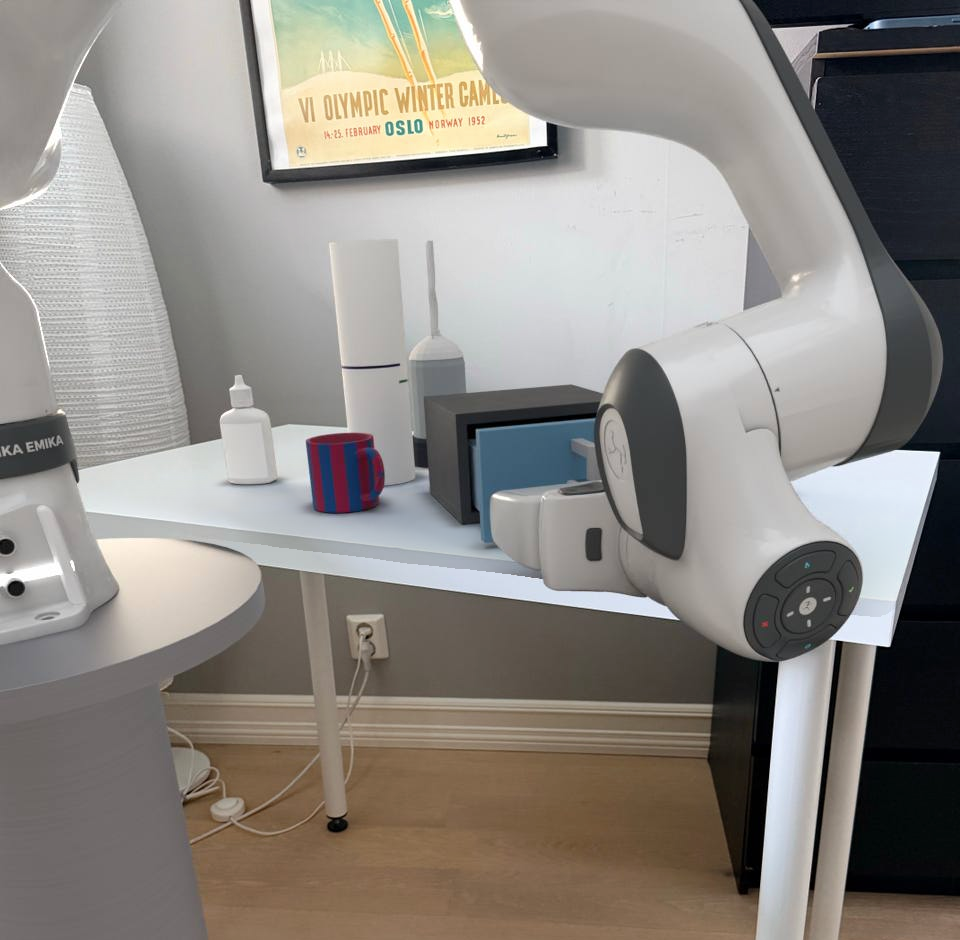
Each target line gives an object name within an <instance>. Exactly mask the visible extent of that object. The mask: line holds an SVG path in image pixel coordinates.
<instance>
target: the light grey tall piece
mask: <svg viewBox="0 0 960 940" xmlns="http://www.w3.org/2000/svg"><path fill="white" fill-rule="evenodd" d="M425 255H426V269H427V271H426V272H427V294H428V295H427V296H428V304H429V318H430V329H429V334H428V335H427V336H426V337H425V338H424V339H422V340H420V341H419V342H418V343H417V344H416V345H415V346H414V347H413V349H411V352H410V353H409V356H408V365H407V368H408V381H409V394H410V408H411V421H412V437H413V450H414V463H415V467H418V468H428V455H427V441H426V426H425V412H424V397H425V396H437V395H449V394H461V393H467V379H466V363H465V358H464V353H463V352H462V350H461V348H460V347H459V346H458V345H457V344H456V343H455V342H454V341H452V340H451V339H449V338H447V337H445V336H444V335H442V333H441V331H440V329H439V305H438V298H437V293H436V292H437V291H436V266H435V265H436V264H435V251H434V241H433V240H426V243H425Z"/></svg>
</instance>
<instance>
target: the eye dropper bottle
mask: <svg viewBox="0 0 960 940" xmlns="http://www.w3.org/2000/svg"><path fill="white" fill-rule="evenodd" d="M228 391H229V398H230V405H231V407H232V409H229V410H227V411H225V412H224V413H222V414H221V416H220V417H219V428H220V436H221V442H222V449H223V455H224V463H225V468H226V469H225V471H226V475H227V476H226V477H227V480H228V482H229V483H231V484H234V485H264V484H265V485H266V484H269V483H272V482H274V481H276V480H277V479H278V467H277V461H276V460H277V459H276V453H275V446H274V445H275V444H274V439H273V430H272V424H271V419H270V416H269V414H268V413H266V412H265V411H264V410H262V409H259V408H255V407H254V398H253V391H252V387H251V386H249V385H246V384H245V381H244V378H243V376H242V374H237V375H234V385H232V387H230V388H229V390H228Z"/></svg>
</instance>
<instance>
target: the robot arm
mask: <svg viewBox="0 0 960 940" xmlns="http://www.w3.org/2000/svg"><path fill="white" fill-rule="evenodd" d="M124 2H125V0H0V210H4V209H8V208H13V207H15V206H18V205H21V204H24V203H28V202H30V201H33V200H35V199H36V198H39V197H40V196H41V195H42V194H44V193H45V192H46V191H47V190H48V189H49V188H50V186H51V185H52V183H53V182H54V180H55V179H56V176H57V174H58V171H59V168H60V165H61V161H62V155H63V154H62V153H63V138H62V133H61V127H60V120H61V117H62V114H63V113H64V109H65V107H66V105H67V104H66V103H67V101H68V99H69V95H70V93H71V91H72V88H73V86H74V83H75V80H76V78H77V76H78V74H79V72H80V69H81V67H82V65H83V63H84V61H85V59H86V57H87V55H88V54H89V51H90V50H91V48H92V46H93V45H94V44H95V41H96V40H97V38H98V37H99V36H100V34H101V33H102V31H103V30H104V29H105V28H106V26H107V24H108V23H109V22H110V21H111V19H112V18H113V17H114V15H115V14H116V12H117V11H118V10H119V8H121V6H122V5H123V3H124ZM448 3H449V7H450V9H451V12H452V14H453V18H454V20H455V23H456V25H457V28H458V31H459V33H460V35H461V38H462V40H463V42H464V44H465V47H466V49H467V50H468V54H469V55H470V57H471V59H472V61H473V63H474V65H475V67H476V68H477V70H478V73H480V75H481V77H483V80H484V81H485V82H486V84H487V85H488V86H489V87H490V89H491V90H492V91H493V92H494V93H495V94H496V95H498V96H499V97H500V98H502V99H503V101H505V102H507V103H508V104H509V105H511V106H512V107H513V108H516V109H517V110H519V111H521V112H523V113H525V114H526V115H527V116H528V115H529V116H530V117H533V118H536V119H538V120H540V121H543V122H546V123H549V124H553V125H556V126H559V127H560V126H561V127H565V128H570V129H578V130H598V131H615V132H624V133H632V134H633V133H634V134H639V135H645V136H651V137H654V138H659V139H664V140H667V141H670V142H674V143H677V144H679V145H682V146H684V147H687V148H689V149H691V150H693V151H695V152H696V153H698V154H699V155H700V156H702V157H704V158H705V159H706V160H707V161H709V163H710V164H711V165H713V167H715V169H716V170H717V171H718V172H719V173H720V174H721V176H722V177H723V179H724V181H725V182H726V184H727V186H728V188H729V190H730V192H731V194H732V196H733V198H734V200H735V201H736V204H737V206H738V207H739V210H740V211H741V214H742V215H743V217H744V219H745V221H746V223H747V225H748V228H749V229H750V231H751V233H752V235H753V237H754V239H755V241H756V242H757V245H758V246H759V248H760V250H761V252H762V254H763V256H764V258H765V260H766V263H768V266H769V268H770V269H771V272H772V274H773V275H774V277H775V279H776V282H777V283H778V286H779V288H780V291H781V297H779V298H776V299H772V300H770V301H768V302H767V301H766V302H764V303H761V304H759V305H756V306H753V307H750V308H747V309H744V310H742V311H739V312H736V313H733V314H730V315H727V316H726V317H723V318H719V319H716V320H714V321H711V322H710V321H705V322H703V323H700V324H697V325H694V326H692V327H688V328H686V329H683V330H680V331H678V332H674V333H673V334H669V335H667V336H664V337H661V338H659V339H656V340H653V341H650V342H648V343H645V344H643V345H640V346H638V347H636V348H635V347H634V348H631V349H628V350H627V351H626V352H625V353H624V354H623V355H622V357H621V358H619V360H618V361H617V364H615V366H614V368H613V369H612V372H611V374H610V375H609V378H608V380H607V382H606V384H605V386H604V390H603V392H602V393H603V396H602V399H601V401H600V405H599V408H598V412H597V415H596V419H595V424H594V444H595V452H596V458H597V464H598V469H599V473H600V477H601V480H595V481H589V480H587V479H577V480H568V481H567V484H558V485H549V486H540V487H531V488H522V489H512V490H502V491H498V492H496V493H494V494H493V495H492V496H491V499H490V523H491V533H492V538H493V540H494V542H493V543H494V544H495V545H496V546H497V547H498V548H499V549H500V550H501V551H502V552H503V553H504V554H505V555H506V556H508V557H509V558H511V559H512V560H513V561H514V562H515V563H517V564H518V565H520V566H522V567H524V568H526V569H529V570H532V571H535V572H541V576H542V583H543V585H544V586H545V587H546V588H548V589H550V590H551V591H556V592H591V593H592V592H595V593H612V594H613V593H614V594H620V595H625V596H629V597H635V598H641V599H642V598H643V599H644V598H648V599H650V600H651V601H653V602H656V603H657V604H659V605H661V606H664V607H667V609H668V610H669V612H670V613H671V614H672V615H673V616H674V617H675V618H677V620H678V621H681V623H683V624H684V625H686V627H689V628H690V629H691V630H693V631H694V632H696V633H697V634H699V635H700V636H702V637H703V638H704V639H707V640H708V641H710V642H711V643H713V644H715V645H716V646H719V647H721V648H723V649H724V650H726V651H728V652H730V653H732V654H735V655H737V656H740V657H743V658H747V659H750V660H753V661H760V662H766V663H767V662H768V663H769V662H770V663H779V662H784V661H788V660H791V659H795V658H797V657H800V656H802V655H805V654H807V653H809V652H811V651H813V650H815V649H816V648H818V647H820V646H822V645H823V644H825V643H826V642H827V641H829V640H830V639H831V638H832V637H834V636H835V635H836V634H837V633H838V632H839V631H840V630H841V628H842V627H843V626H844V625H845V624H846V623H847V621H848V619H849V618H850V617H851V615H852V614H853V612H854V611H855V608H856V607H857V605H858V601H859V599H860V597H861V594H862V589H863V583H864V571H863V570H864V569H863V565H862V561H861V558H860V557H859V554H858V553H857V551H856V549H854V547H853V546H852V544H850V542H849V541H847V540H846V539H845V538H844V537H843V536H842V535H840V533H838V532H837V531H835V530H834V529H832V528H831V527H830V526H828V525H827V524H825V523H824V522H823V521H820V520H819V519H817V517H815V516H814V514H812V512H811V511H810V510H809V508H808V507H807V505H806V504H805V503H804V502H803V500H802V498H801V497H800V496H799V494H798V492H797V491H796V490H795V488H794V486H793V484H792V482H794V481H797V480H799V479H802V478H804V477H807V476H810V475H812V474H815V473H817V472H820V471H823V470H825V469H828V468H833V467H841V466H844V465H848V464H851V463H855V462H859V461H862V460H866V459H869V458H874V457H877V456H880V455H884V454H888V453H890V452H894V451H896V450H898V449H901V448H902V447H904V446H905V445H906V444H908V443H909V441H911V439H912V438H913V437H914V436H915V434H916V433H917V431H918V430H919V428H920V426H921V425H922V423H923V421H924V420H925V418H926V416H927V415H928V413H929V410H930V408H931V406H932V404H933V402H934V399H935V397H936V394H937V391H938V388H939V385H940V381H941V376H942V371H943V363H944V351H943V350H944V349H943V342H942V339H941V335H940V332H939V328H938V326H937V324H936V322H935V319H934V317H933V315H932V313H931V312H930V311H931V310H930V309H929V308H928V306H927V305H926V303H925V301H924V300H923V299H922V297H921V295H919V293H918V291H917V290H916V289H915V287H914V286H913V285H912V284H911V282H910V281H909V280H908V278H907V277H906V275H904V273H903V272H902V270H901V269H900V268H899V267H898V265H897V264H896V263H895V261H894V260H893V258H892V257H891V256H890V254H889V253H888V251H887V249H886V248H885V246H884V245H883V242H882V240H880V238H879V235H878V233H877V231H876V230H875V228H874V226H873V224H872V222H871V221H870V218H869V216H868V214H867V212H866V209H865V208H864V206H863V204H862V202H861V199H860V198H859V196H858V194H857V192H856V190H855V188H854V186H853V184H852V182H851V180H850V178H849V177H848V174H847V172H846V170H845V168H844V166H843V164H842V162H841V160H840V158H839V156H838V154H837V152H836V150H835V148H834V146H833V144H832V142H831V139H830V138H829V136H828V134H827V132H826V130H825V128H824V126H823V124H822V122H821V120H820V118H819V116H818V114H817V112H816V110H815V108H814V105H813V103H812V102H811V99H810V98H809V96H808V94H807V92H806V90H805V88H804V85H803V84H802V81H801V80H800V78H799V76H798V74H797V72H796V71H795V69H794V65H792V62H791V61H790V58H789V57H788V54H787V53H786V51H785V50H784V47H783V46H782V44H781V42H780V41H779V38H778V36H777V35H776V33H775V32H774V30H773V29H772V26H771V25H770V23H769V21H768V20H767V18H766V17H765V15H764V14H763V12H762V11H761V10H760V8H759V7H758V5H757V4H756V3H755V1H753V0H448ZM51 371H52V370H51V367H50V363H49V358H48V353H47V348H46V343H45V337H44V333H43V330H42V325H41V319H40V315H39V310H38V308H37V306H36V303H35V302H34V300H33V298H32V296H31V294H30V293H29V292H28V290H26V288H25V287H24V286H23V285H22V284H21V283H20V282H18V281H17V280H16V279H15V277H13V276H12V275H11V274H10V273H9V271H8V270H7V269H6V267H4V265H3V264H2V262H1V261H0V646H2V645H6V644H10V643H15V642H19V641H23V640H28V639H32V638H36V637H40V636H45V635H49V634H53V633H58V632H62V631H66V630H71V629H74V628H77V627H80V626H82V625H83V624H85V623H86V622H87V620H88V619H89V617H90V615H91V613H92V612H93V611H94V610H95V609H96V608H98V607H100V606H101V605H103V604H104V603H106V602H107V601H109V600H110V599H111V598H112V597H113V596H115V594H116V593H117V592H118V589H119V584H118V582H117V581H116V579H115V577H114V575H113V574H112V572H111V570H110V568H109V566H108V564H107V562H106V561H105V558H104V556H103V554H102V552H101V550H100V547H99V545H98V543H97V540H96V539H97V538H96V535H95V533H94V530H93V528H92V525H91V522H90V519H89V516H88V513H87V511H86V507H85V505H84V502H83V498H82V495H81V493H80V489H79V485H78V484H79V483H80V473H79V467H78V464H79V463H78V456H77V450H76V446H75V442H74V437H73V434H72V432H71V430H70V427H69V422H68V418H67V414H66V412H64V411H63V410H62V409H60V408H59V404H58V400H57V395H56V390H55V386H54V380H53V376H52V372H51Z"/></svg>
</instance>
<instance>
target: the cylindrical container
mask: <svg viewBox="0 0 960 940" xmlns="http://www.w3.org/2000/svg"><path fill="white" fill-rule="evenodd" d="M328 248H329V257H330V267H331V277H332V288H333V297H334V307H335V316H336V326H337V327H336V328H337V337H338V347H339V355H340V365H341V366H342V367H341V378H342V386H343V394H344V395H343V396H344V405H345V406H344V407H345V417H346V424H347V425H346V426H347V433H367V434H371V435H373V439H374V449H376V450H377V451H378V452H379V454H380V456H381V458H382V461H383V465H384V472H385V482H384V487H385V486H394V485H400V484H405V483H408V482H411V481H414V480H415V479H416V466H415V463H414V450H413V437H412V436H413V422H412V409H411V396H410V383H409V370H408V361H407V360H408V359H407V346H406V345H407V344H406V334H405V332H406V331H405V321H404V320H405V319H404V307H403V294H402V293H403V292H402V282H401V281H402V280H401V279H402V278H401V268H400V267H401V266H400V255H399V254H400V253H399V241H398V239H395V238H393V239H392V238H391V239H390V238H388V239H385V238H383V239H361V240H359V239H358V240H348V241H347V240H343V241H333V242H329V243H328Z"/></svg>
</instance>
